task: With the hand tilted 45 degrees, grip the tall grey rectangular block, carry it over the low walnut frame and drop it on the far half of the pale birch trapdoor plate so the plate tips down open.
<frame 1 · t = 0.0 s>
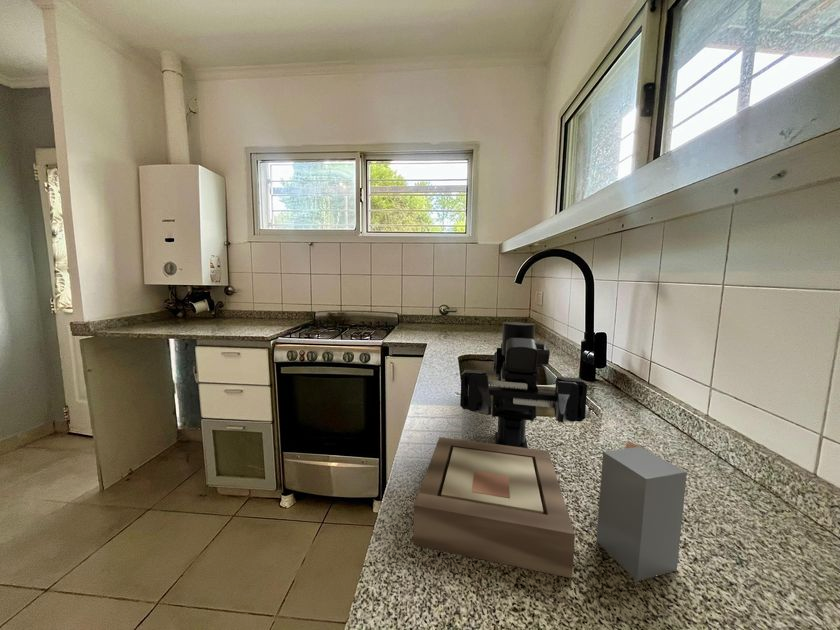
hand: (524, 414, 43), 17 cm above the counter, tool horizontal, fingers open, 9 cm apart
grey rectangular block: (634, 555, 41), on the counter
trapdoor plate: (491, 476, 48), point 5 cm above the counter, hinge at 0.0°
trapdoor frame: (489, 508, 49), on the counter
tin: (626, 503, 51), on the counter
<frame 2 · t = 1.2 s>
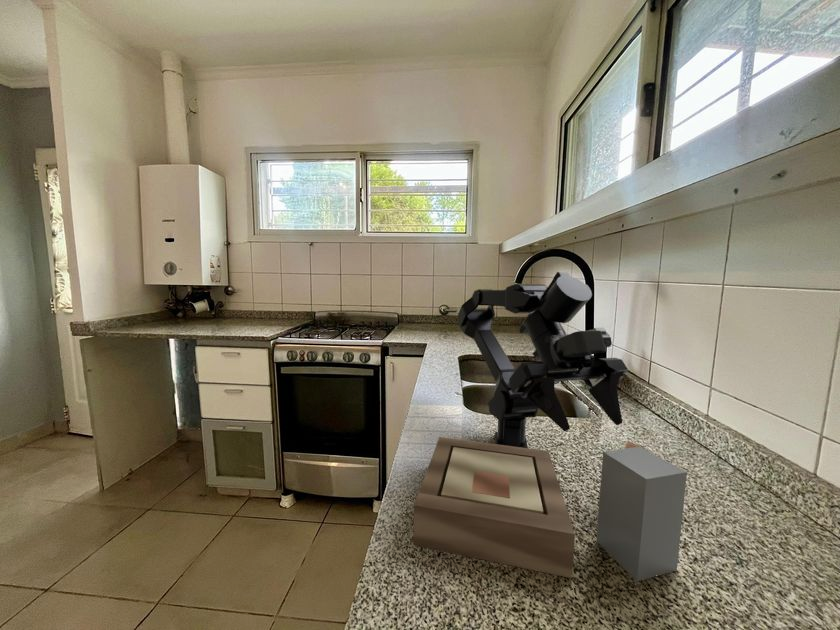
hand: (594, 427, 47), 13 cm above the counter, tool tilted 45°, fingers open, 9 cm apart
nothing on the counter moved.
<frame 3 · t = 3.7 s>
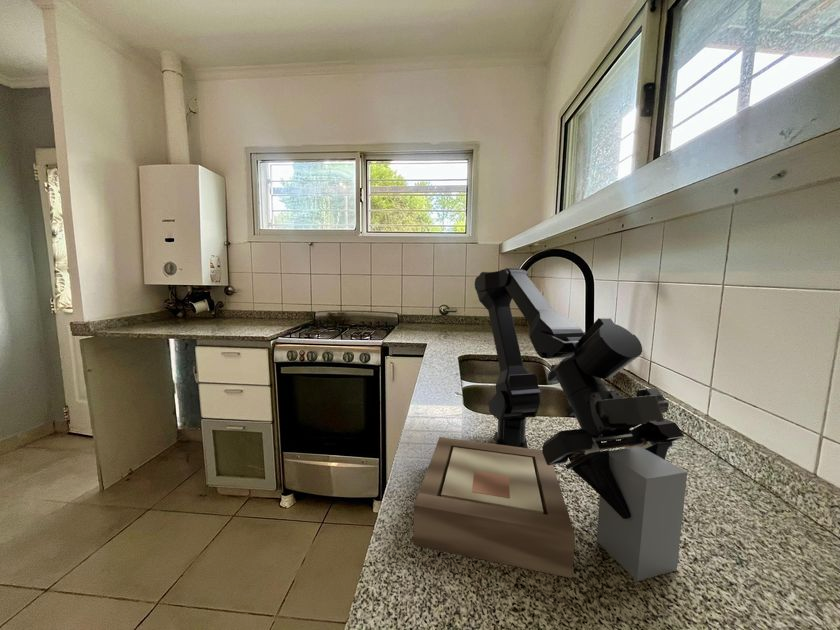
hand: (649, 513, 39), 7 cm above the counter, tool tilted 45°, fingers closed on grey rectangular block, 6 cm apart
grey rectangular block: (634, 555, 41), on the counter, touching gripper
everything else where it was.
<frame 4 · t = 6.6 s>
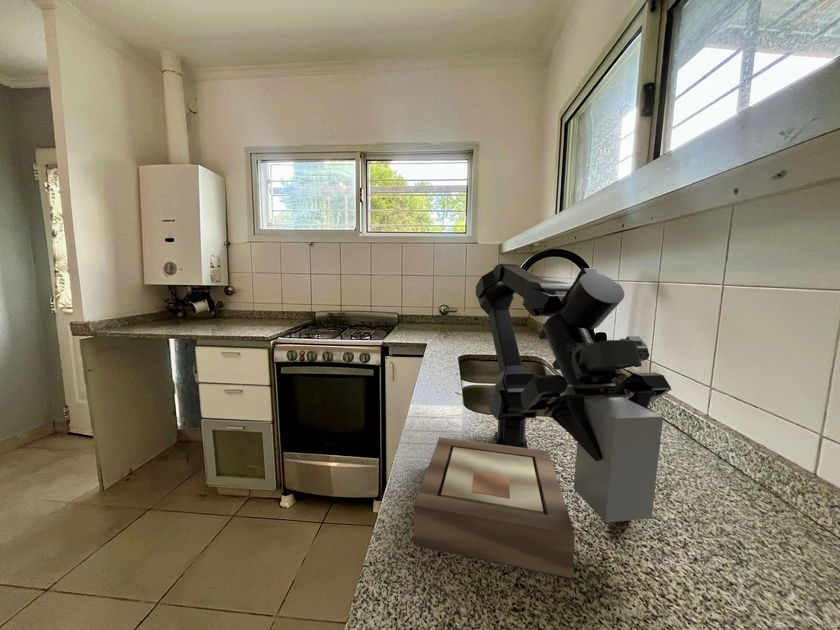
hand: (623, 458, 38), 13 cm above the counter, tool tilted 45°, fingers closed on grey rectangular block, 6 cm apart
grey rectangular block: (610, 502, 40), point 7 cm above the counter, touching gripper
everything else where it was.
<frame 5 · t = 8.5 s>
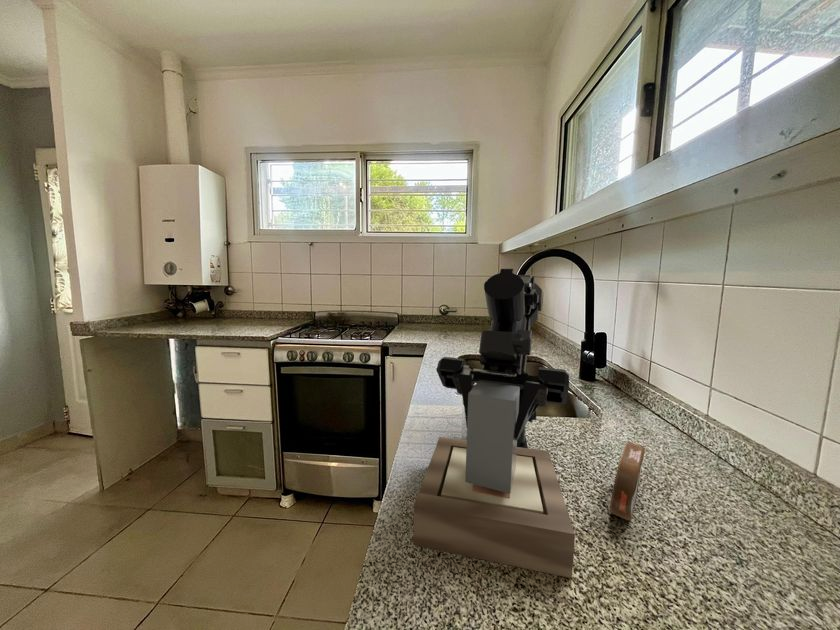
hand: (491, 434, 44), 13 cm above the counter, tool tilted 45°, fingers closed on grey rectangular block, 6 cm apart
grey rectangular block: (491, 475, 46), point 7 cm above the counter, touching gripper
everything else where it was.
when the fingers open (13 cm above the counter, at t = 9.5 s): grey rectangular block drops 3 cm, resting on trapdoor plate.
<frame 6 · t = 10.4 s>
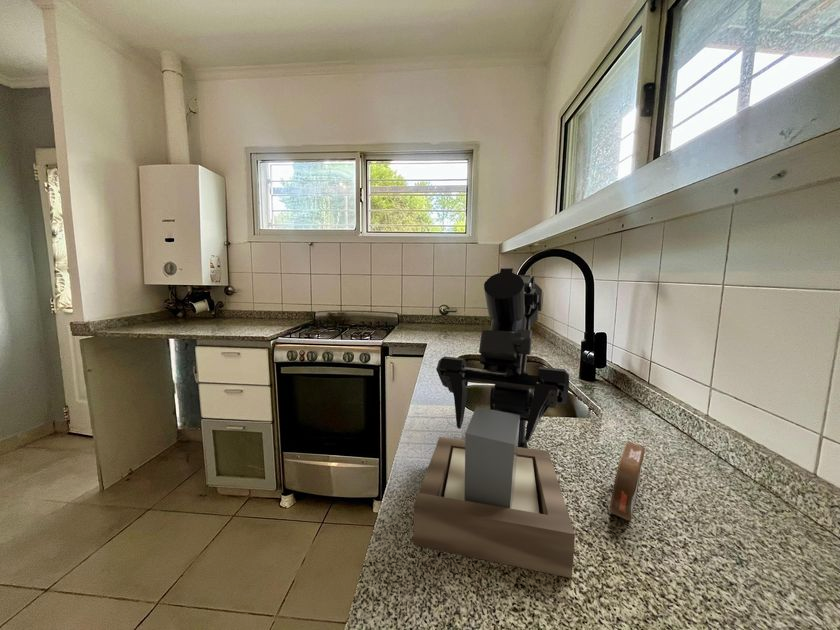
hand: (491, 433, 44), 14 cm above the counter, tool tilted 45°, fingers open, 9 cm apart
grey rectangular block: (490, 497, 46), point 3 cm above the counter, tilted 13°, touching trapdoor plate
trapdoor plate: (490, 486, 48), point 4 cm above the counter, hinge at -13.4°, touching grey rectangular block
everything else where it was.
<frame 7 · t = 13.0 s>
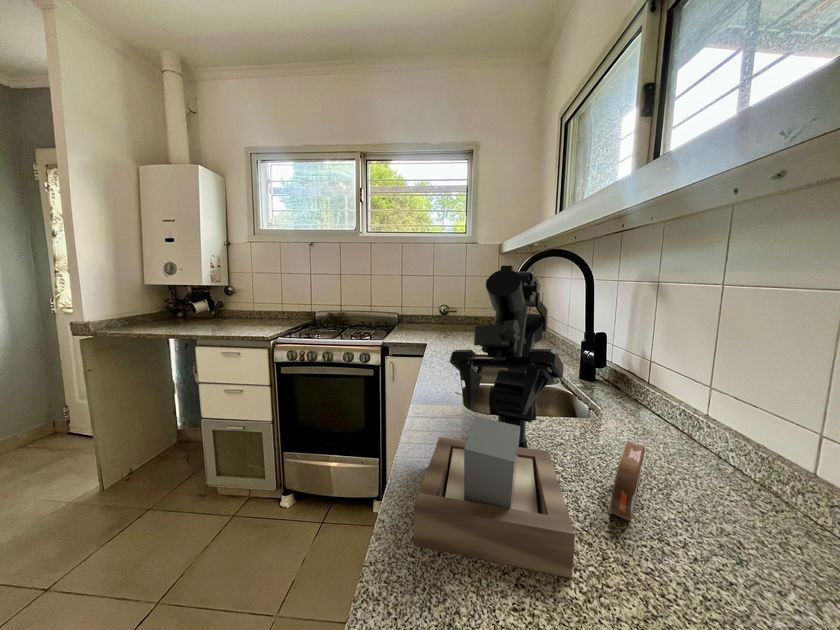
hand: (495, 410, 52), 13 cm above the counter, tool tilted 35°, fingers open, 9 cm apart
grey rectangular block: (490, 502, 46), point 3 cm above the counter, tilted 19°, touching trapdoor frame, trapdoor plate
trapdoor plate: (490, 489, 48), point 3 cm above the counter, hinge at -19.3°, touching grey rectangular block
everything else where it was.
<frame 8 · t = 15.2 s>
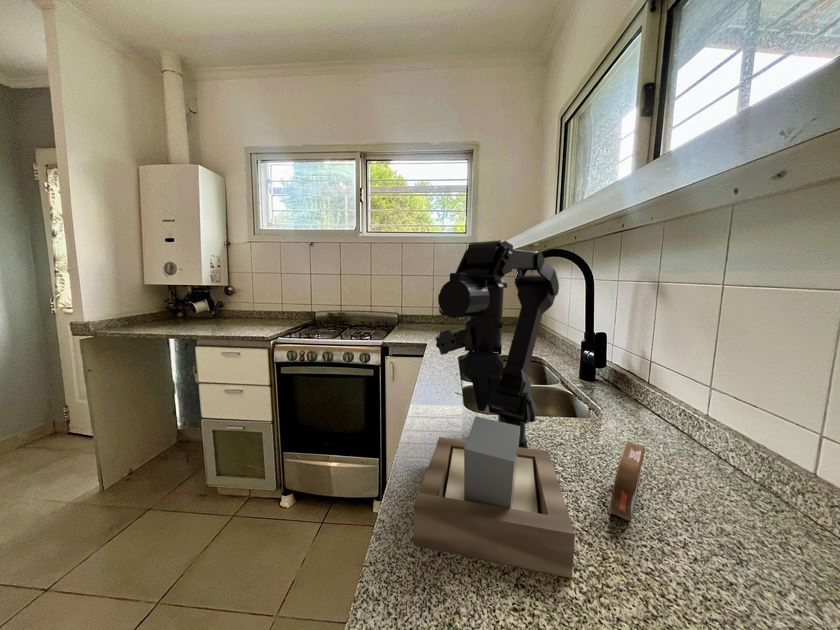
hand: (482, 400, 57), 13 cm above the counter, tool pointing down, fingers open, 9 cm apart
nothing on the counter moved.
at the end: trapdoor plate at -19° (first picture: +0°); grey rectangular block point 2.6 cm above the counter; the gripper is holding nothing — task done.
